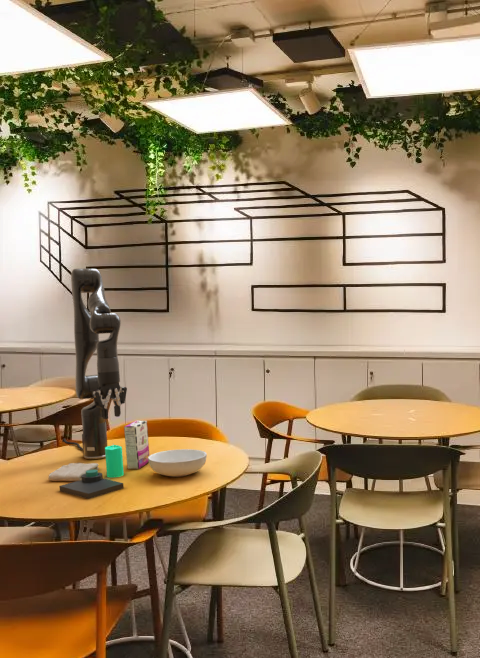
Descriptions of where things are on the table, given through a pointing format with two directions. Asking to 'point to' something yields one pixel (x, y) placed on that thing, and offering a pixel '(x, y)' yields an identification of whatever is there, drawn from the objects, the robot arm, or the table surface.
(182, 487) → the table surface
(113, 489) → the scale
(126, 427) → the candy bar box
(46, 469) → the table surface
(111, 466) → the candle
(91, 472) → the button
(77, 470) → the washcloth
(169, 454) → the serving bowl
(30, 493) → the table surface
